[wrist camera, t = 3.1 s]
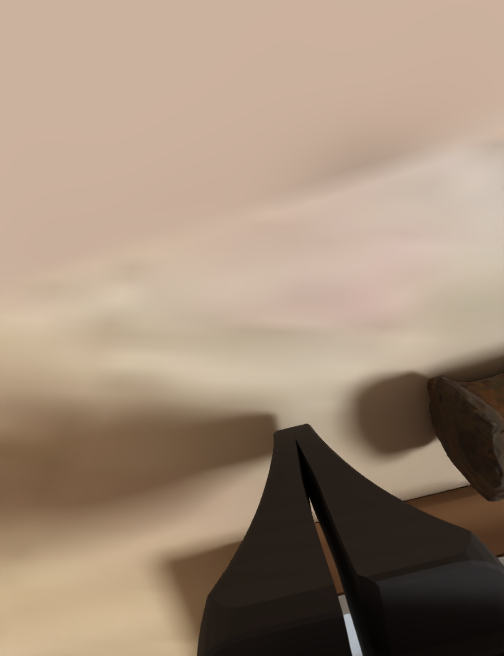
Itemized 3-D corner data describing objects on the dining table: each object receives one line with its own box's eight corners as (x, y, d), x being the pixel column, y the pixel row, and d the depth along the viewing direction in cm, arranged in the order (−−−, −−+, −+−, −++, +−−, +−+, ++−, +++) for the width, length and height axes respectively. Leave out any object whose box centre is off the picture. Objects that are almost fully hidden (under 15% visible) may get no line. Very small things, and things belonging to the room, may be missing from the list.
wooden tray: (514, 631, 18) (588, 736, 14) (286, 686, 18) (301, 804, 14) (517, 474, 15) (613, 557, 11) (238, 541, 15) (241, 646, 11)
